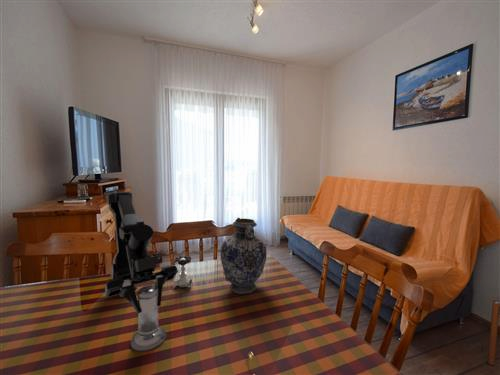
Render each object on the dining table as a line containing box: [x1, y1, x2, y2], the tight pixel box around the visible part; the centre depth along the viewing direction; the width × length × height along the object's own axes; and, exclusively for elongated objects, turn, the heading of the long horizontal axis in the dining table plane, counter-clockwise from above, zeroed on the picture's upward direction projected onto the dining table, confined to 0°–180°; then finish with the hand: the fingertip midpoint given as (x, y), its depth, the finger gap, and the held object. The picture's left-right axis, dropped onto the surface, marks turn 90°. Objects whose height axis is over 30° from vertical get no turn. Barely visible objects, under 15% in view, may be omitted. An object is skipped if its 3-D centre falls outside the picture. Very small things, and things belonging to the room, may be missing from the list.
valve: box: [173, 255, 193, 289], centre depth 94 cm, size 7×7×12 cm
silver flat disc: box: [130, 326, 167, 353], centre depth 65 cm, size 9×9×1 cm
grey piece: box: [137, 284, 159, 336], centre depth 64 cm, size 5×5×12 cm
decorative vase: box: [220, 217, 267, 295], centre depth 93 cm, size 21×19×28 cm
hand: (149, 309), depth 63 cm, fingers closed on grey piece, 5 cm apart
